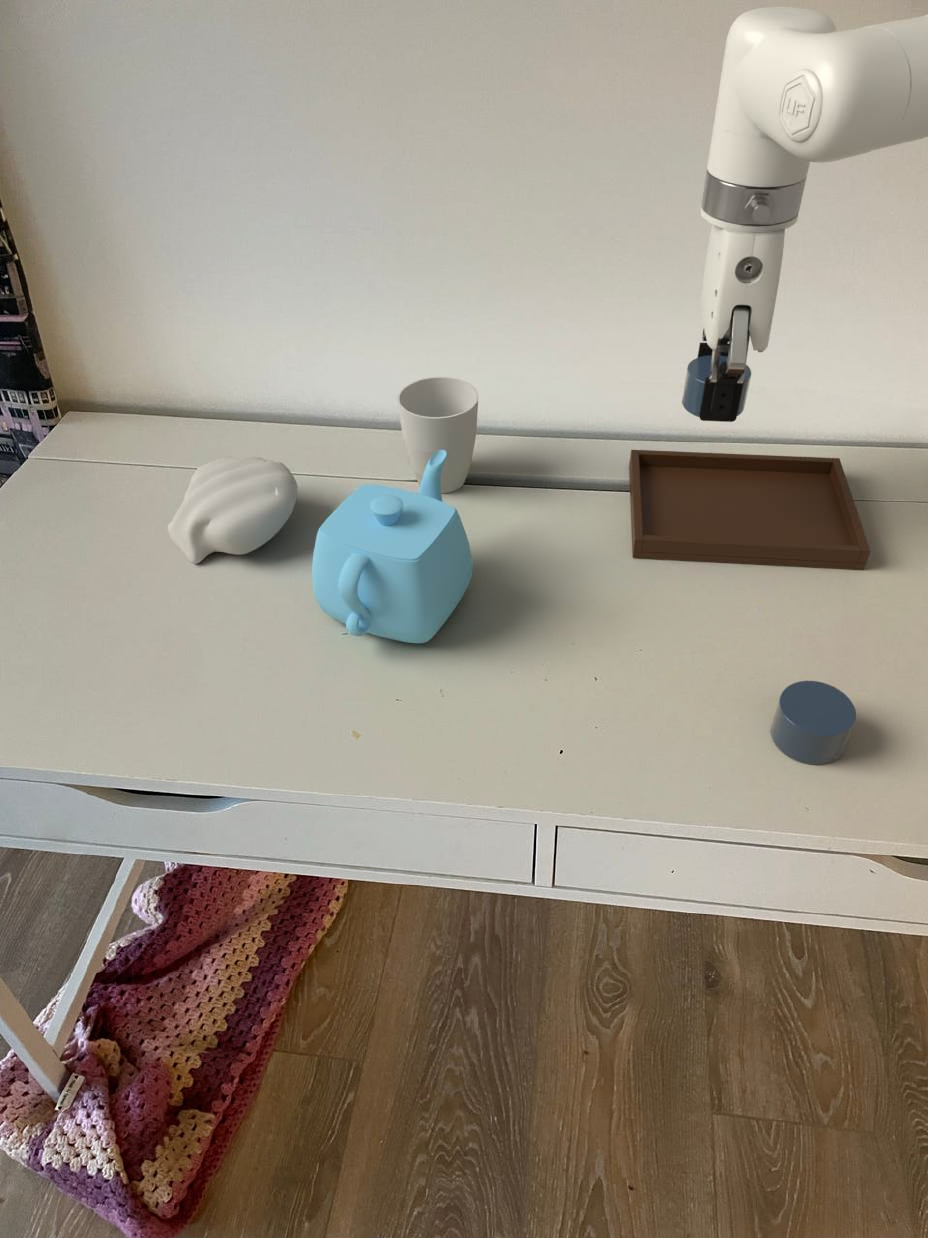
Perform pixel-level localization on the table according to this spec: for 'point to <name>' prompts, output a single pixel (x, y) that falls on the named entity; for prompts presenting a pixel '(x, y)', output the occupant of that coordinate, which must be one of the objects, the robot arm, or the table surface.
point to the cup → (439, 426)
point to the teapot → (393, 560)
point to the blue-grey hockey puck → (812, 722)
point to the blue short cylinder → (696, 381)
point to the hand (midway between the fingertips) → (714, 399)
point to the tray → (744, 510)
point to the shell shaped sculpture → (233, 507)
